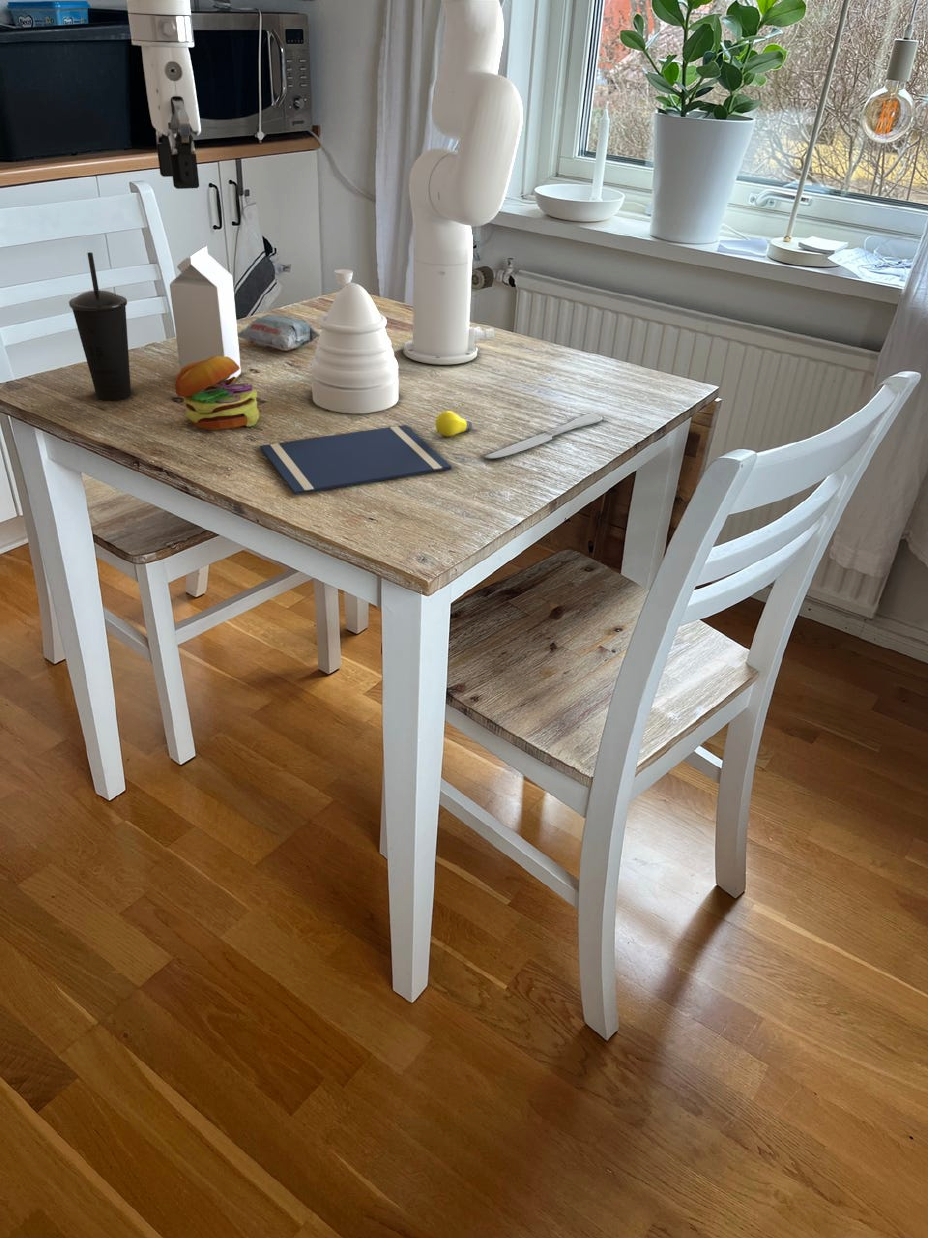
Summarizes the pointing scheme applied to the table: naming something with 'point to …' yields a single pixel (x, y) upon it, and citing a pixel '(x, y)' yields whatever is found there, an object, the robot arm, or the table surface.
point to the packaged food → (279, 332)
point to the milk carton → (204, 311)
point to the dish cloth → (352, 459)
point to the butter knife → (546, 435)
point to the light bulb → (451, 424)
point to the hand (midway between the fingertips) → (179, 181)
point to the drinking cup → (104, 339)
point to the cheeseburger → (216, 395)
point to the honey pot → (353, 354)
